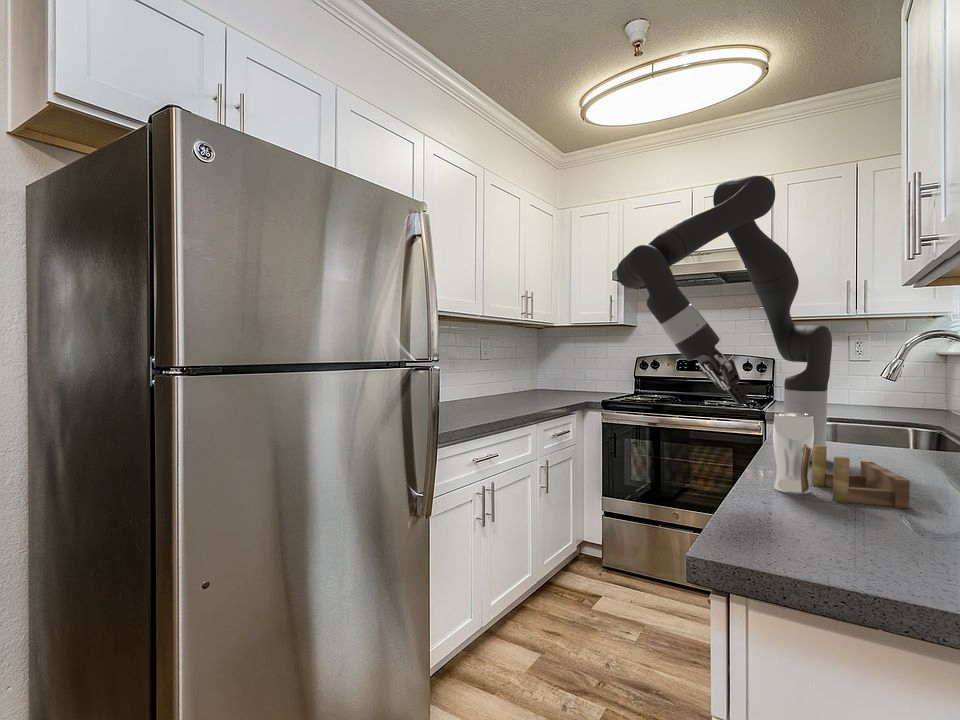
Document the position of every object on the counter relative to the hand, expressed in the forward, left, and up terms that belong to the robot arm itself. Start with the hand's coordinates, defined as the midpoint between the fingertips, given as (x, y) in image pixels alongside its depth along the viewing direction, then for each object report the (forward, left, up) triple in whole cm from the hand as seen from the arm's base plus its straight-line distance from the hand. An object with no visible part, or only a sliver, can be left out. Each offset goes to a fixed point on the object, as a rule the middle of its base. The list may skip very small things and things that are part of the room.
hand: (743, 402), depth 108 cm
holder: (-1, +19, -17) cm, 26 cm away
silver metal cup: (-1, +9, -17) cm, 20 cm away
